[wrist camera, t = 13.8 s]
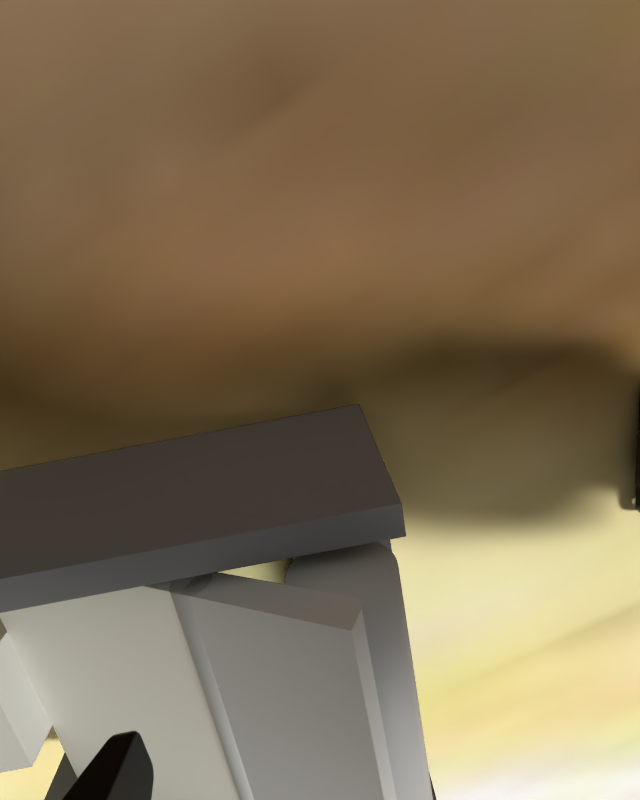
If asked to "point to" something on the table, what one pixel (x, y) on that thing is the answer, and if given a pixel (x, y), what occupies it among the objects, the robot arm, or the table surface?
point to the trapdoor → (241, 680)
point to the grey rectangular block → (18, 711)
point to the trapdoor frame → (191, 511)
